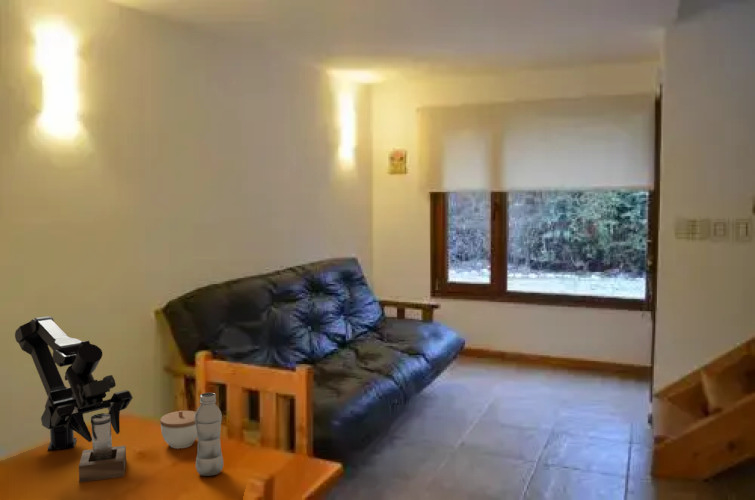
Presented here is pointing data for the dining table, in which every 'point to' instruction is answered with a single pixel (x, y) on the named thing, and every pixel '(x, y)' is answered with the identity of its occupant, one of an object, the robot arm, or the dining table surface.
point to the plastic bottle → (208, 436)
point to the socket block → (102, 465)
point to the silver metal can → (101, 437)
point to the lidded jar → (179, 429)
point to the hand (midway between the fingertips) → (104, 437)
